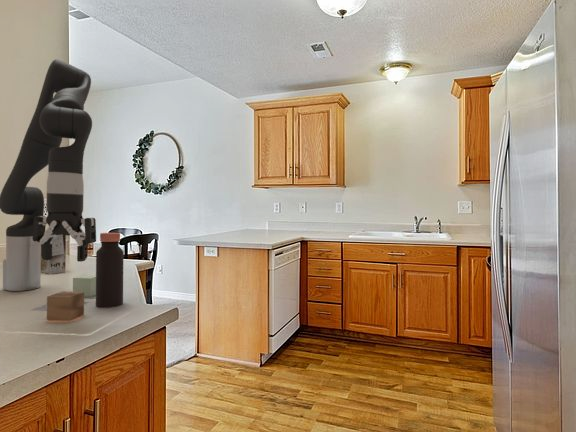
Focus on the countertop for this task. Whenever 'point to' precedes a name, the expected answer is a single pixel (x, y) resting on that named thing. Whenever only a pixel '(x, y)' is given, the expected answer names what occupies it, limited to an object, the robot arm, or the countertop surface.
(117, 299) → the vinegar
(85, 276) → the sage block
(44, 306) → the tile
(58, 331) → the countertop surface
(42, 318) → the countertop surface
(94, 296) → the code tile
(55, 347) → the countertop surface
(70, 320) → the terracotta coaster
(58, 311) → the walnut block
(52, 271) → the coffee box
